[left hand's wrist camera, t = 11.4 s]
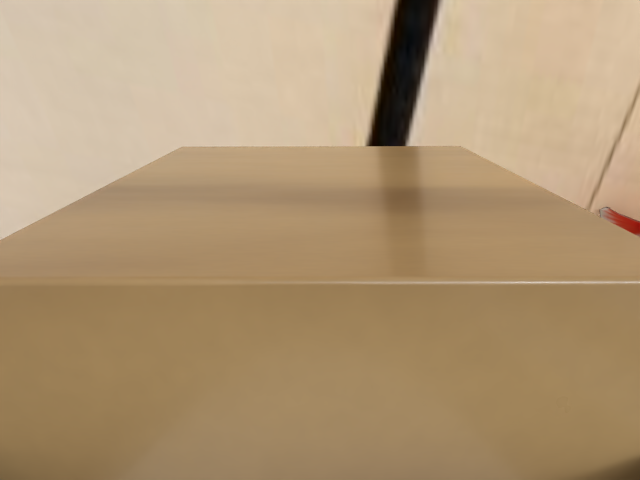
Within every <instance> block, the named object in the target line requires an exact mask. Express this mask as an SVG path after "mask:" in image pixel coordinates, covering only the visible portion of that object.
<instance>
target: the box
mask: <svg viewBox="0 0 640 480" xmlns="http://www.w3.org/2000/svg"><path fill="white" fill-rule="evenodd" d="M0 480H640V237H639V236H637V235H635V234H633V233H631V232H629V231H627V230H625V229H623V228H621V227H619V226H617V225H615V224H613V223H611V222H609V221H607V220H605V219H603V218H601V217H599V216H597V215H595V214H593V213H591V212H589V211H587V210H585V209H583V208H581V207H579V206H577V205H575V204H573V203H571V202H570V201H568V200H566V199H564V198H562V197H560V196H558V195H556V194H554V193H552V192H550V191H548V190H546V189H544V188H542V187H540V186H538V185H536V184H534V183H532V182H530V181H528V180H526V179H524V178H522V177H520V176H518V175H516V174H514V173H512V172H510V171H508V170H506V169H504V168H502V167H500V166H499V165H497V164H495V163H493V162H491V161H489V160H487V159H485V158H483V157H481V156H479V155H477V154H475V153H473V152H471V151H469V150H467V149H465V148H463V147H461V146H393V147H181V148H179V149H177V150H175V151H173V152H171V153H169V154H167V155H165V156H163V157H161V158H159V159H157V160H155V161H153V162H152V163H150V164H148V165H146V166H144V167H142V168H140V169H138V170H136V171H134V172H132V173H130V174H128V175H126V176H124V177H122V178H120V179H118V180H116V181H115V182H113V183H111V184H109V185H107V186H105V187H103V188H101V189H99V190H97V191H95V192H93V193H91V194H89V195H87V196H85V197H83V198H81V199H79V200H78V201H76V202H74V203H72V204H70V205H68V206H66V207H64V208H62V209H60V210H58V211H56V212H54V213H52V214H50V215H48V216H46V217H44V218H42V219H41V220H39V221H37V222H35V223H33V224H31V225H29V226H27V227H25V228H23V229H21V230H19V231H17V232H15V233H13V234H11V235H9V236H7V237H5V238H4V239H2V240H0Z"/></svg>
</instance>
